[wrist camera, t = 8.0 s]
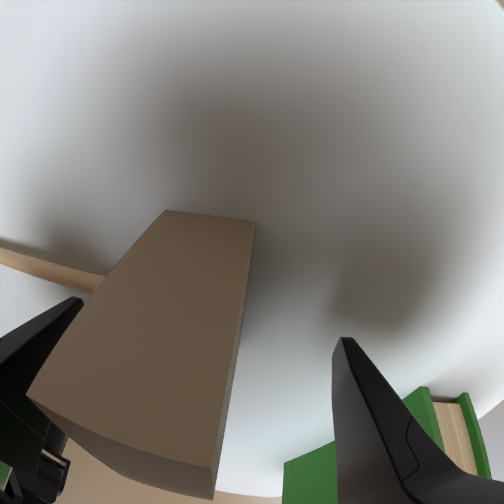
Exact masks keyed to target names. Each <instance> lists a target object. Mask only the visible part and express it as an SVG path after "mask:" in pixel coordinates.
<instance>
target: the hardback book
mask: <svg viewBox="0 0 504 504" xmlns="http://www.w3.org/2000/svg"><path fill="white" fill-rule="evenodd" d="M402 401H403V402H404V404H405V405H406V406H407V408H408V409H409V410H410V412H411V413H412V414H411V415H413V416H414V417H415V418H416V420H417V421H418V422H419V424H420V425H421V426H422V427H423V429H424V430H425V431H426V432H427V434H428V435H429V436H430V437H431V438H432V439H433V440H434V442H435V443H436V444H437V445H438V446H439V447H440V448H441V449H442V450H443V451H444V452H445V453H446V455H447V456H448V457H449V458H450V459H451V460H452V461H453V462H454V463H455V464H456V465H457V466H458V467H459V468H460V469H462V470H463V471H465V472H467V473H469V474H473V475H476V476H480V477H484V478H488V479H492V477H491V472H490V468H489V463H488V457H487V453H486V449H485V445H484V441H483V438H482V434H481V431H480V427H479V424H478V420H477V417H476V414H475V411H474V408H473V405H472V402H471V400H470V397H469V394H468V393H462V394H461V395H460V396H459V397H457V398H456V399H455V400H453V401H452V402H451V403H439V402H432V399H431V395H430V392H429V389H428V388H427V387H421V386H420V387H419V388H417V389H416V390H415V391H414V392H412V393H411V394H409V395H408V396H407V397H405V398H404V399H403V400H402ZM282 504H337V469H336V450H335V441H333V442H331V443H329V444H327V445H325V446H323V447H320V448H318V449H316V450H314V451H312V452H310V453H307V454H305V455H303V456H300V457H298V458H295V459H293V460H291V461H288V462H285V463H284V477H283V493H282Z"/></svg>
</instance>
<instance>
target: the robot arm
mask: <svg viewBox="0 0 504 504" xmlns="http://www.w3.org/2000/svg"><path fill="white" fill-rule="evenodd" d="M83 306H84V302H83V300H82V299H81V298H78V297H70V298H68V299H67V300H65V301H63V302H61V303H59V304H58V305H56V306H54V307H52V308H50V309H49V310H47V311H45V312H43V313H42V314H40V315H38V316H36V317H35V318H33V319H31V320H29V321H28V322H26V323H24V324H23V325H21V326H19V327H18V328H16V329H14V330H13V331H11V332H9V333H8V334H6V335H4V336H3V337H1V338H0V504H52V503H54V502H55V500H56V497H57V495H58V496H60V495H61V493H62V491H63V489H64V485H65V481H66V477H67V473H68V470H69V466H70V462H71V461H70V460H68V459H66V458H63V457H62V456H61V455H62V452H63V450H64V447H65V444H66V442H67V439H68V437H69V436H68V435H66V434H65V433H64V432H63V431H62V430H61V429H60V428H59V427H57V426H56V425H55V424H54V423H53V422H52V421H51V420H50V419H49V418H48V417H47V416H46V415H45V414H44V413H43V412H42V411H41V410H40V409H39V408H38V407H37V406H36V405H35V404H34V403H33V402H32V401H31V400H30V399H29V398H28V396H27V395H26V393H27V391H28V389H29V388H30V386H31V384H32V382H33V381H34V379H35V377H36V376H37V374H38V372H39V371H40V369H41V367H42V366H43V364H44V363H45V361H46V359H47V358H48V356H49V355H50V353H51V352H52V350H53V349H54V347H55V346H56V344H57V343H58V341H59V340H60V338H61V337H62V335H63V334H64V332H65V331H66V329H67V328H68V327H69V325H70V324H71V322H72V321H73V320H74V318H75V317H76V315H77V314H78V313H79V311H80V310H81V309H82V307H83ZM332 411H333V422H334V435H335V450H336V469H337V504H504V482H501V481H497V480H492V479H488V478H484V477H480V476H476V475H473V474H469V473H467V472H465V471H463V470H462V469H460V468H459V467H458V466H457V465H456V464H455V463H454V462H453V461H452V460H451V459H450V458H449V457H448V456H447V455H446V453H445V452H444V451H443V450H442V449H441V448H440V447H439V446H438V445H437V444H436V443H435V442H434V440H433V439H432V438H431V437H430V436H429V435H428V434H427V432H426V431H425V430H424V429H423V427H422V426H421V425H420V424H419V422H418V421H417V420H416V418H415V417H414V416H413V415H411V414H412V413H411V412H410V410H409V409H408V408H407V406H406V405H405V404H404V402H403V401H402V400H401V399H400V397H399V396H398V395H397V393H396V392H395V391H394V389H393V388H392V387H391V385H390V384H389V383H388V382H387V380H386V379H385V378H384V376H383V375H382V374H381V373H380V371H379V370H378V369H377V367H376V366H375V365H374V364H373V362H372V361H371V360H370V359H369V357H368V356H367V355H366V353H365V352H364V351H363V350H362V348H361V347H360V346H359V345H358V343H357V342H356V341H355V340H354V339H353V338H351V337H341V338H340V339H339V341H338V343H337V345H336V347H335V350H334V352H333V355H332ZM42 449H43V450H44V451H46V452H47V453H49V454H50V455H52V456H54V457H55V458H57V459H59V460H60V463H58V462H56V461H55V460H53V459H52V458H50V457H48V456H46V455H45V454H44V453H42Z"/></svg>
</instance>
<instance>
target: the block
mask: <svg viewBox="0 0 504 504" xmlns="http://www.w3.org/2000/svg"><path fill="white" fill-rule="evenodd" d="M255 229H256V222H250V221H243V220H236V219H229V218H222V217H215V216H207V215H200V214H192V213H184V212H176V211H168V210H165V211H164V212H163V213H162V214H161V215H160V216H159V217H158V218H157V219H156V220H155V221H154V222H153V223H152V224H151V226H150V227H149V228H148V229H147V230H146V231H145V232H144V233H143V234H142V235H141V237H140V238H139V239H138V240H137V241H136V242H135V243H134V244H133V246H132V247H131V248H130V249H129V250H128V251H127V253H126V254H125V255H124V256H123V257H122V258H121V260H120V261H119V262H118V263H117V264H116V265H115V267H114V268H113V269H112V270H111V272H110V273H109V274H108V275H107V276H102V275H98V274H94V273H89V272H85V271H81V270H77V269H73V268H70V267H66V266H62V265H58V264H54V263H51V262H47V261H43V260H40V259H36V258H33V257H29V256H26V255H23V254H19V253H16V252H13V251H9V250H6V249H3V248H0V264H3V265H5V266H8V267H11V268H13V269H16V270H19V271H22V272H24V273H27V274H30V275H33V276H36V277H39V278H42V279H45V280H48V281H51V282H54V283H57V284H60V285H64V286H67V287H70V288H73V289H77V290H80V291H84V292H87V293H91V294H92V295H91V297H90V298H89V299H88V301H87V302H86V303H85V305H84V306H83V307H82V309H81V310H80V311H79V313H78V314H77V315H76V317H75V318H74V320H73V321H72V322H71V324H70V325H69V327H68V328H67V329H66V331H65V332H64V334H63V335H62V337H61V338H60V340H59V341H58V343H57V344H56V346H55V347H54V349H53V350H52V352H51V353H50V355H49V356H48V358H47V359H46V361H45V363H44V364H43V366H42V367H41V369H40V371H39V372H38V374H37V376H36V377H35V379H34V381H33V382H32V384H31V386H30V388H29V389H28V391H27V393H26V395H27V396H28V398H29V399H30V400H31V401H32V402H33V403H34V404H35V405H36V406H37V407H38V408H39V409H40V410H41V411H42V412H43V413H44V414H45V415H46V416H47V417H48V418H49V419H50V420H51V421H52V422H53V423H54V424H55V425H56V426H57V427H59V428H60V429H61V430H62V431H63V432H64V433H65V434H66V435H68V436H69V437H70V438H71V439H73V440H74V441H75V442H76V443H77V444H79V445H80V446H81V447H82V448H83V449H85V450H86V451H87V452H89V453H90V454H91V455H93V456H94V457H95V458H97V459H98V460H100V461H101V462H102V463H104V464H105V465H107V466H108V467H110V468H111V469H113V470H114V471H116V472H117V473H119V474H120V475H122V476H124V477H127V478H129V479H132V480H135V481H137V482H140V483H143V484H147V485H150V486H153V487H156V488H160V489H163V490H167V491H170V492H174V493H178V494H183V495H187V496H192V497H196V498H202V499H207V500H213V496H214V491H215V485H216V479H217V473H218V467H219V461H220V455H221V450H222V444H223V438H224V432H225V426H226V420H227V414H228V408H229V402H230V396H231V390H232V384H233V378H234V372H235V366H236V360H237V355H238V349H239V342H240V335H241V328H242V321H243V314H244V307H245V300H246V293H247V285H248V278H249V271H250V264H251V257H252V250H253V243H254V236H255Z"/></svg>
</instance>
